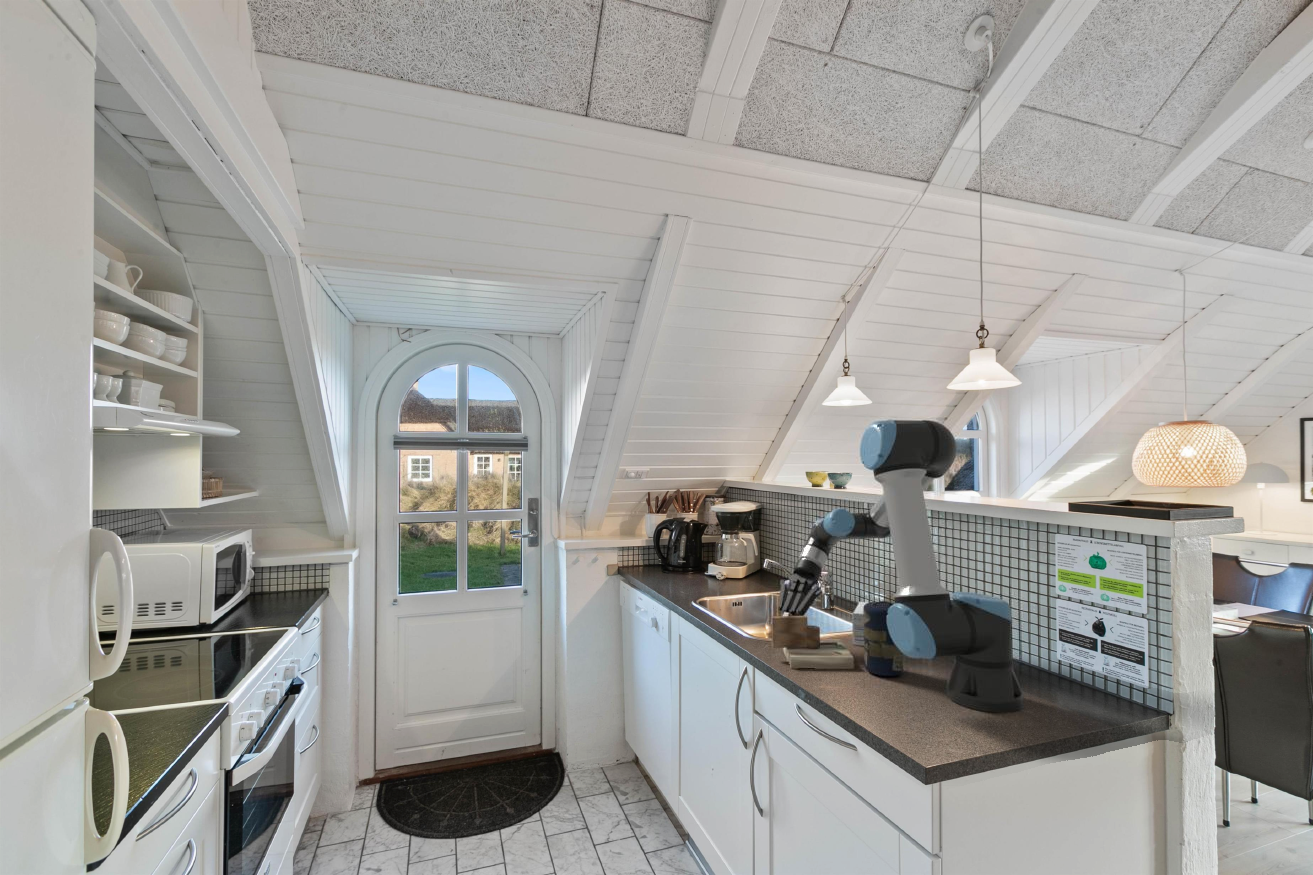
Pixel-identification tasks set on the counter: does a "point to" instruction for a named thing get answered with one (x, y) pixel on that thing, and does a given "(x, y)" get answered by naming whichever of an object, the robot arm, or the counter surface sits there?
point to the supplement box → (858, 624)
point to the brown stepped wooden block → (795, 633)
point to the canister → (880, 641)
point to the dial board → (820, 656)
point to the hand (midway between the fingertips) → (779, 635)
